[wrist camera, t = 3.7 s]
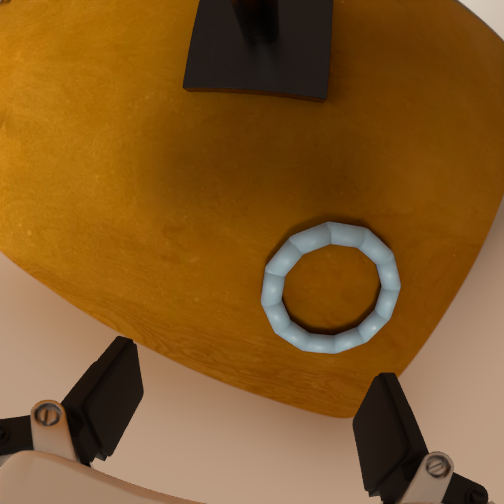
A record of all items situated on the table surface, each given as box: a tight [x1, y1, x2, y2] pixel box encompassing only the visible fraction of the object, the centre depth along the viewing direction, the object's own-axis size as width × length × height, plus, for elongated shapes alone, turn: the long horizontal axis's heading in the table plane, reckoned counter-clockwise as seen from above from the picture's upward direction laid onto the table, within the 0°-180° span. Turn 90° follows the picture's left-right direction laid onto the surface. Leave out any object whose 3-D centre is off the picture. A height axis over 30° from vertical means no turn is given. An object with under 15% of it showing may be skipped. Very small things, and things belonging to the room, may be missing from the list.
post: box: [183, 0, 333, 103], centre depth 10 cm, size 9×9×10 cm
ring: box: [261, 222, 401, 354], centre depth 19 cm, size 10×10×1 cm
